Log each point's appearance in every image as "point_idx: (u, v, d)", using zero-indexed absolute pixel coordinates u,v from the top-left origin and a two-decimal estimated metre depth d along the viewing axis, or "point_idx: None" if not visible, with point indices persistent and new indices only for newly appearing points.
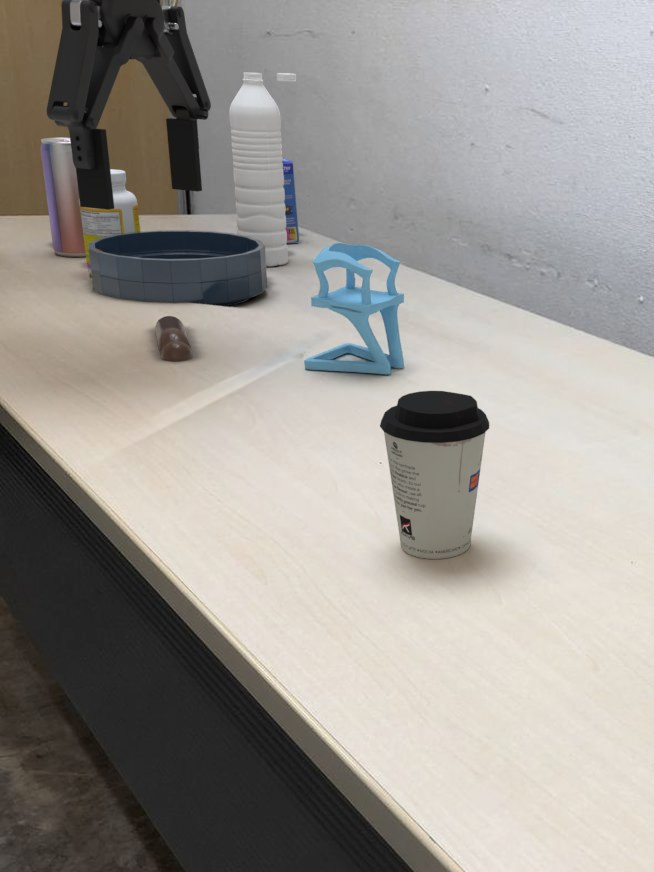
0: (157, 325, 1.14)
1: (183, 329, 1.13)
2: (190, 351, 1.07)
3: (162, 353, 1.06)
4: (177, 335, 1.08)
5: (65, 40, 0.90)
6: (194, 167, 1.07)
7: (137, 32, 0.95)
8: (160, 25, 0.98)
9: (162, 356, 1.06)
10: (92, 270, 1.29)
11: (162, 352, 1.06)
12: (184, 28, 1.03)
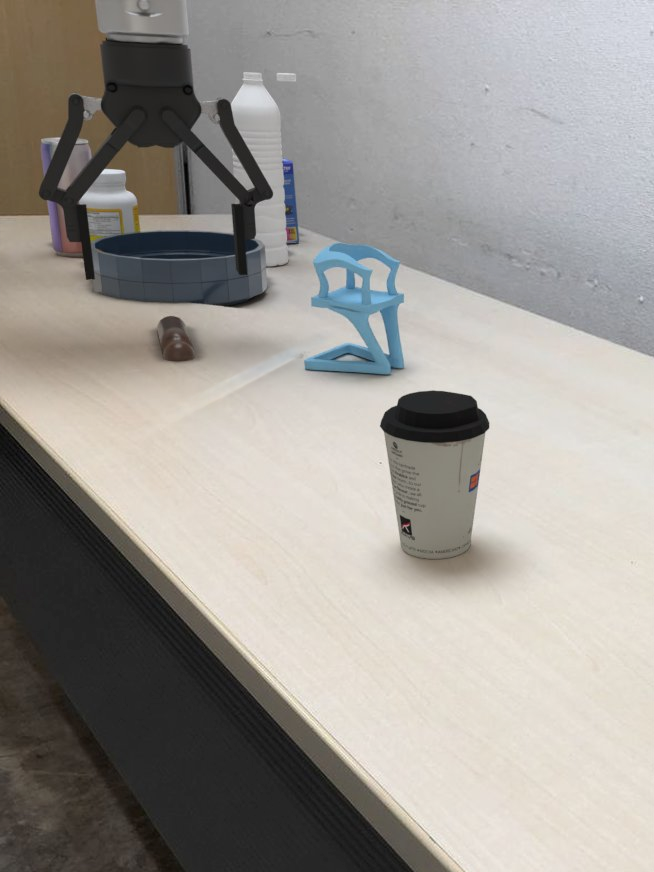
0: (160, 323, 1.14)
1: (186, 330, 1.13)
2: (193, 353, 1.07)
3: (165, 351, 1.06)
4: (181, 335, 1.09)
5: None
6: (237, 252, 1.09)
7: (134, 123, 1.01)
8: (174, 116, 1.02)
9: (164, 354, 1.06)
10: None
11: (165, 350, 1.06)
12: (229, 119, 1.05)
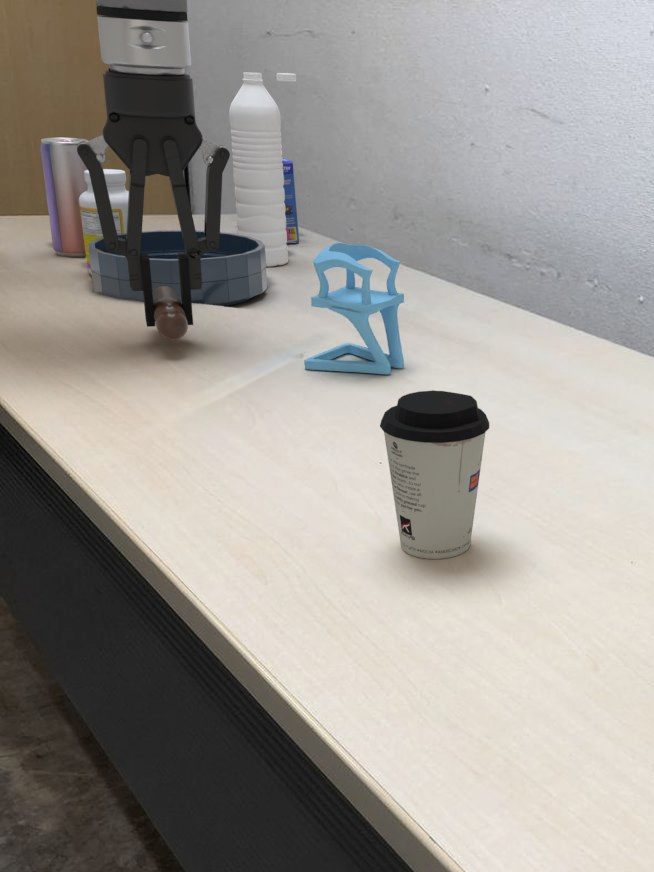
0: None
1: (176, 297, 1.12)
2: (184, 318, 1.06)
3: (157, 325, 1.05)
4: (169, 304, 1.07)
5: None
6: (183, 302, 1.09)
7: (136, 152, 1.02)
8: (175, 146, 1.03)
9: (157, 328, 1.05)
10: (92, 270, 1.29)
11: (156, 324, 1.05)
12: (220, 168, 1.06)
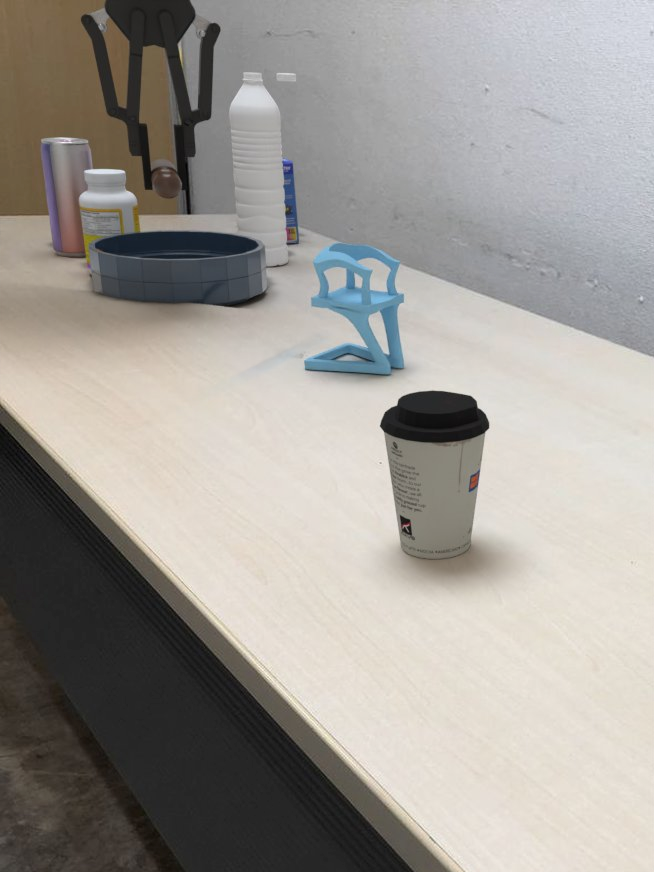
0: None
1: (172, 166, 1.21)
2: (178, 178, 1.16)
3: (153, 183, 1.15)
4: (165, 168, 1.17)
5: None
6: (178, 168, 1.19)
7: (134, 23, 1.12)
8: (170, 18, 1.13)
9: (154, 186, 1.15)
10: (92, 270, 1.29)
11: (153, 183, 1.15)
12: (211, 41, 1.16)
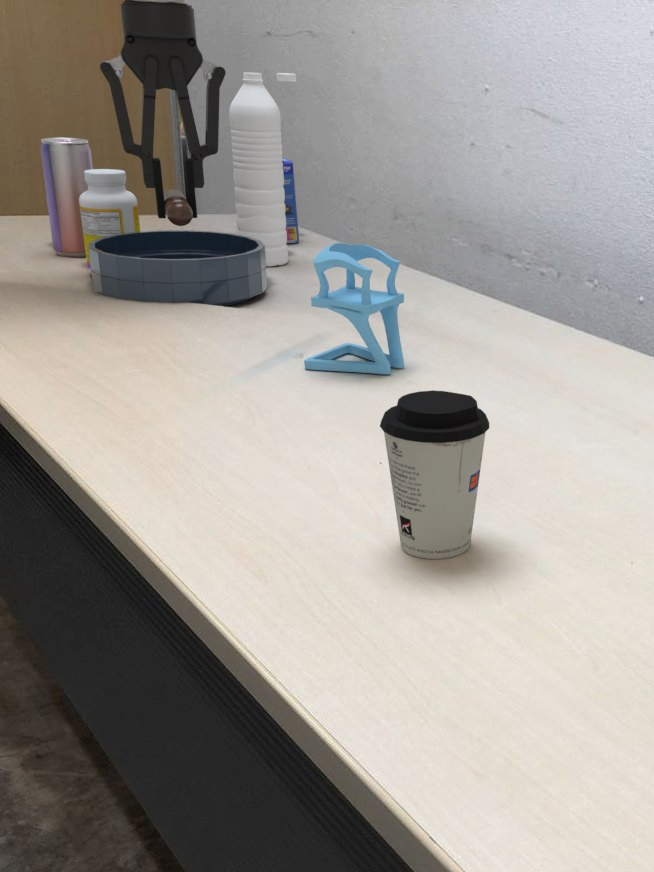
0: None
1: (183, 196, 1.33)
2: (189, 207, 1.28)
3: (167, 213, 1.27)
4: (177, 198, 1.29)
5: (111, 93, 1.26)
6: (188, 198, 1.31)
7: (148, 68, 1.24)
8: (180, 64, 1.25)
9: (167, 215, 1.27)
10: (92, 270, 1.29)
11: (167, 212, 1.27)
12: (217, 83, 1.28)
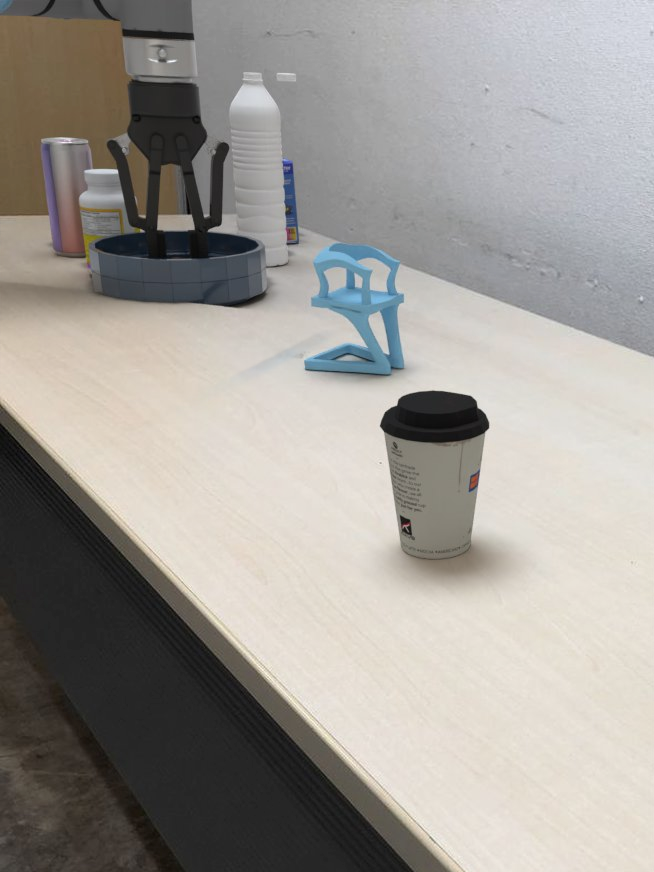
0: None
1: None
2: None
3: None
4: None
5: None
6: None
7: (153, 146, 1.27)
8: (185, 141, 1.28)
9: None
10: (92, 270, 1.29)
11: None
12: (221, 158, 1.31)
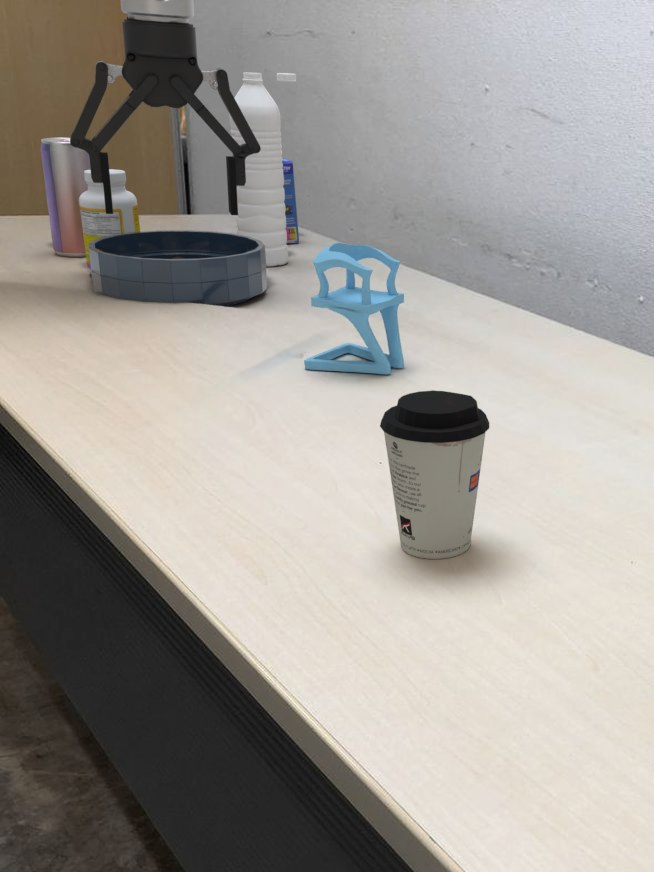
0: None
1: None
2: None
3: None
4: None
5: (91, 89, 1.25)
6: (230, 196, 1.33)
7: (148, 86, 1.25)
8: (181, 82, 1.26)
9: None
10: (92, 270, 1.29)
11: None
12: (226, 86, 1.29)
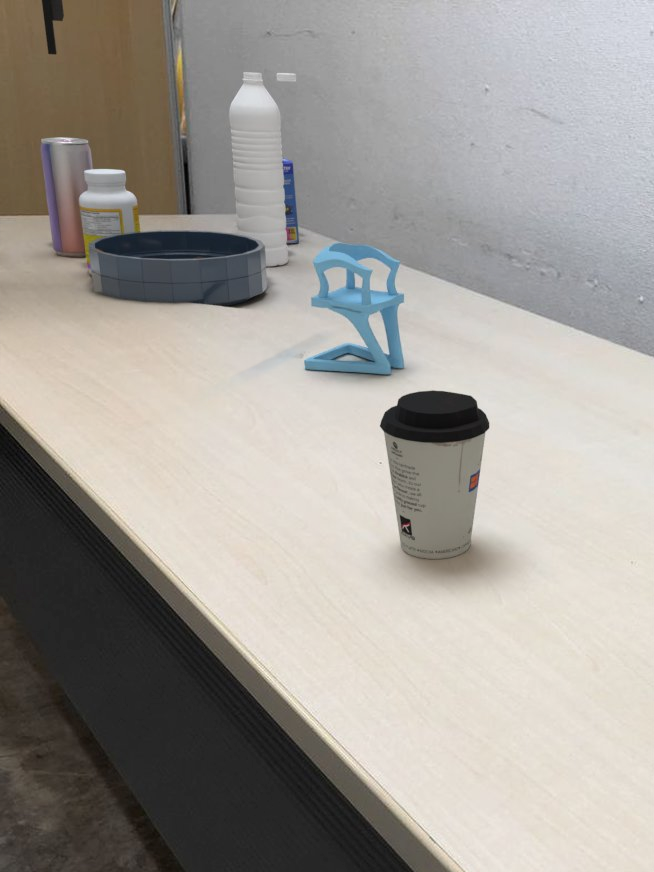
0: None
1: None
2: None
3: None
4: None
5: None
6: None
7: None
8: None
9: None
10: (92, 270, 1.29)
11: None
12: None
